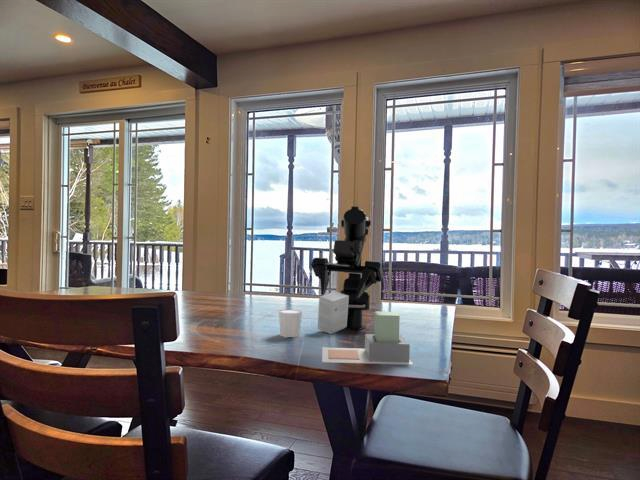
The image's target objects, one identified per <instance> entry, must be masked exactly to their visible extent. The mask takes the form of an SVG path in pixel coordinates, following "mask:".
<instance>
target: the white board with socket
mask: <svg viewBox="0 0 640 480" xmlns="http://www.w3.org/2000/svg"><path fill="white" fill-rule="evenodd" d="M410 348H411V346H410V343H409V342H408V341H407V339H406V338H405V337H404V336H403V335H402V334H399V342H375V340H374V333H365V334H364V348H359V347H358V348H355V347H353V348H352V347H351V348H350V347H323V346H322V347H321V349H322V351H321V362H322V363H333V364H334V363H335V364H336V363H337V364H339V363H341V364H376V365H377V364H379V365H406V366H407V365H414V364H413V362H412V360H411V359H410Z"/></svg>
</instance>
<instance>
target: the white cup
mask: <svg viewBox="0 0 640 480" xmlns="http://www.w3.org/2000/svg"><path fill="white" fill-rule="evenodd" d="M302 314H303V311H301V310H297V309H283V310H279V311H278V321H279V334H280V335H279V336H280V337H282V336H283V337H282V338H287V337H293V338H298V337H300V333H301V323H302V316H303V315H302Z"/></svg>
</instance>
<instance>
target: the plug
mask: <svg viewBox="0 0 640 480" xmlns="http://www.w3.org/2000/svg"><path fill="white" fill-rule="evenodd" d="M373 334H374V340H375V342H399V335H400V315H399V314H398V313H397V312H396V311H378V310H377V311H376V310H375V311H374V332H373Z"/></svg>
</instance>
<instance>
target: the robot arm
mask: <svg viewBox="0 0 640 480" xmlns="http://www.w3.org/2000/svg"><path fill="white" fill-rule="evenodd" d="M340 221H341V222H340V223H341V230H342V229H343V233H344V235H345V237H344V240H337V239H336V240H334V245H333V248H332V249H333V250H332V253H333V254H334V255H335V257H334V259H335V262H337V263H332V262H329V259H328V258H327V257H314V258H313V259H312V260H311V263H310V266H311V268H312V270H313V271H312V272H313V273H314V275H315V277H317V278H318V279H319V280H320V289H321V293H320V294H321V296H323V295H326V291H327V289H328V285H329V282H330V279H331V278H330V276H331V273H332V272H339V273H344V274H348V277H347V278H345V279H344V281H343V286H342V287H343V289H341V290H340V293H342V294H345V295H348V296H349V303H348V316H347V327H346V328H344V329H346V330H354V331H361V330H363V329H366V328H367V325H364V324H363V320H364V319H363V318H364V317H363V315H364V314H363V313H364V311H368V310H370V294H369V293H368V290H367V289H369V288H370V287H371V286H372V285H373V284H374V285H375V284H377V282H379V283H381V282H382V281H383V277H384V270H383V266H382V263H381V261H379V260H365V262H364V265H362V261H363V260H362V259H363V258H362V255H363V252H364V251H363V250H364V247H365V243H366V241H367V236H368V235H369V229H370V226H371V220H370V218H369V216H367V213H366V212H364V210H363V209H359V206H355V205H354V206H351V209H348V210H347V211H345V213H344V214H343V216H342V217H341V220H340Z"/></svg>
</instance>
